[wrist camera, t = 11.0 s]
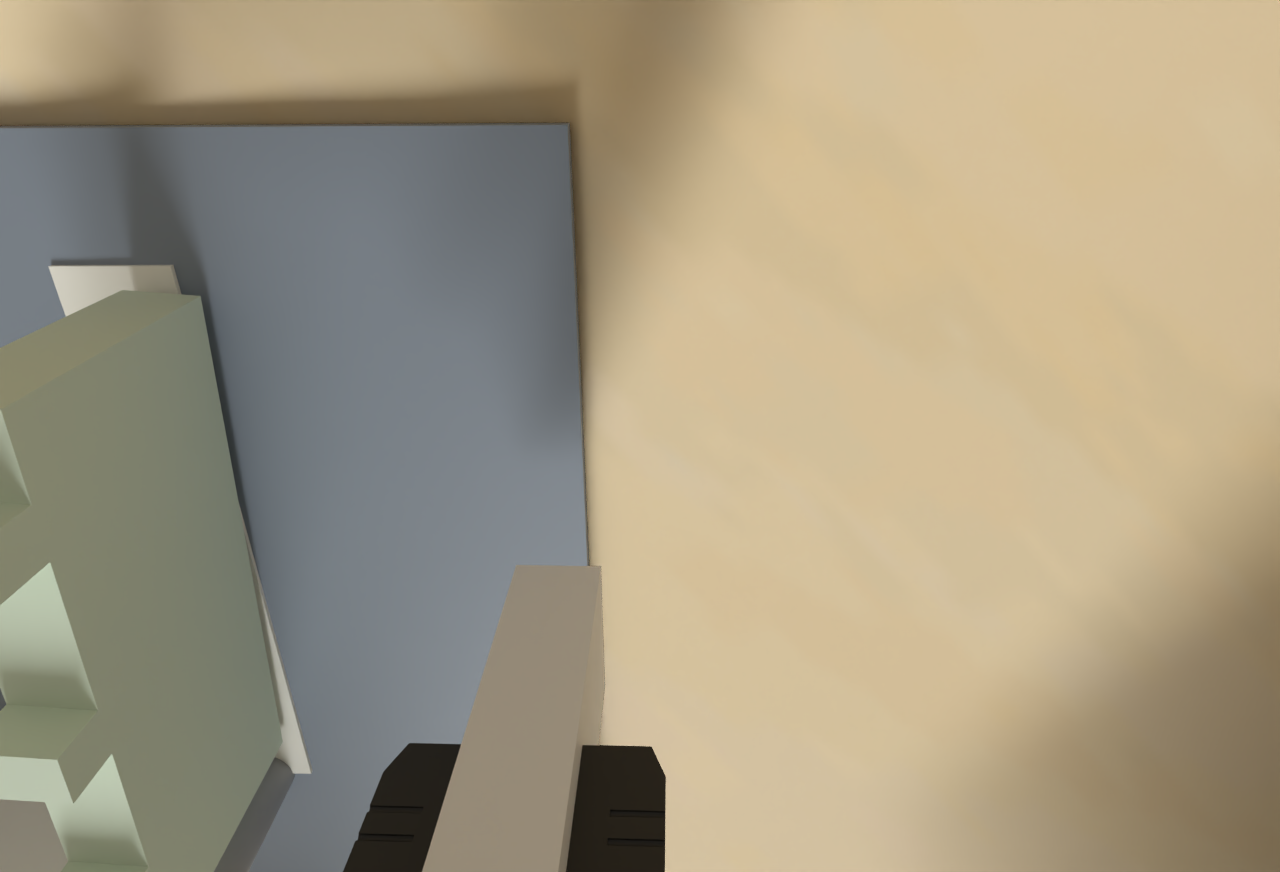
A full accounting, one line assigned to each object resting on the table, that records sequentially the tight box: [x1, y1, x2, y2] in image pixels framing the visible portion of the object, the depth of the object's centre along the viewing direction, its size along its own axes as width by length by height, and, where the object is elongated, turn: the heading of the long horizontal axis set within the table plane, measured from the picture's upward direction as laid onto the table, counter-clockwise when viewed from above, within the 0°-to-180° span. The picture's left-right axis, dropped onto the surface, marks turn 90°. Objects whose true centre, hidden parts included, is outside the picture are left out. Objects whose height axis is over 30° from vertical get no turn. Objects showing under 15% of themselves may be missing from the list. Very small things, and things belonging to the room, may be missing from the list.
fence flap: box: [0, 290, 283, 872], centre depth 15 cm, size 12×2×6 cm, turn 176°
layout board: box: [0, 123, 589, 872], centre depth 20 cm, size 25×23×1 cm
